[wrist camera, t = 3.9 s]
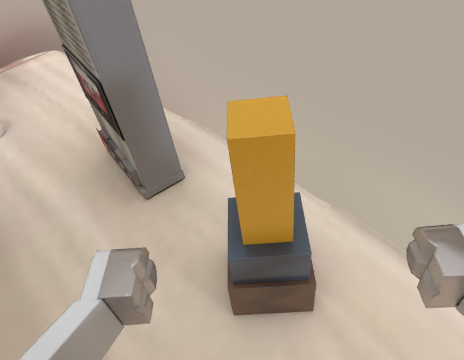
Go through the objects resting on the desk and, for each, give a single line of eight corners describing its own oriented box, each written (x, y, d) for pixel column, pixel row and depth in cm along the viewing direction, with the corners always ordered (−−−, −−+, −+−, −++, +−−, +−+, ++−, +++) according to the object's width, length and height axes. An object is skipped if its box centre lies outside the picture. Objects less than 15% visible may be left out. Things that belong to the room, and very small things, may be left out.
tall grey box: (105, 149, 54) (16, -35, 36) (141, 132, 56) (73, -50, 39) (144, 201, 46) (53, -6, 28) (185, 178, 48) (124, -28, 30)
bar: (243, 245, 29) (226, 139, 21) (242, 207, 31) (227, 101, 24) (293, 241, 28) (295, 132, 21) (287, 203, 31) (287, 95, 23)
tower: (233, 315, 34) (221, 265, 28) (233, 248, 39) (222, 194, 33) (313, 310, 33) (319, 259, 27) (301, 243, 39) (304, 187, 32)
